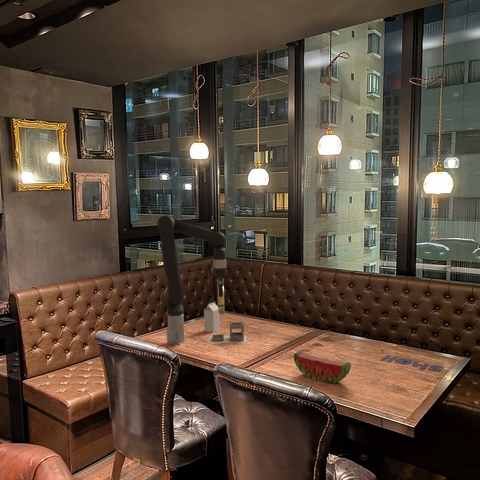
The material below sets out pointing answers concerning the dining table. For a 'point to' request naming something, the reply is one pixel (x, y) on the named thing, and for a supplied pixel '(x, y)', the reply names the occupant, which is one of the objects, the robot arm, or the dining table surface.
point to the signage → (415, 363)
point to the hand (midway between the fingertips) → (221, 295)
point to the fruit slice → (321, 367)
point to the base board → (226, 340)
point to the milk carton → (211, 318)
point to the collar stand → (232, 333)
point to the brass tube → (221, 303)
